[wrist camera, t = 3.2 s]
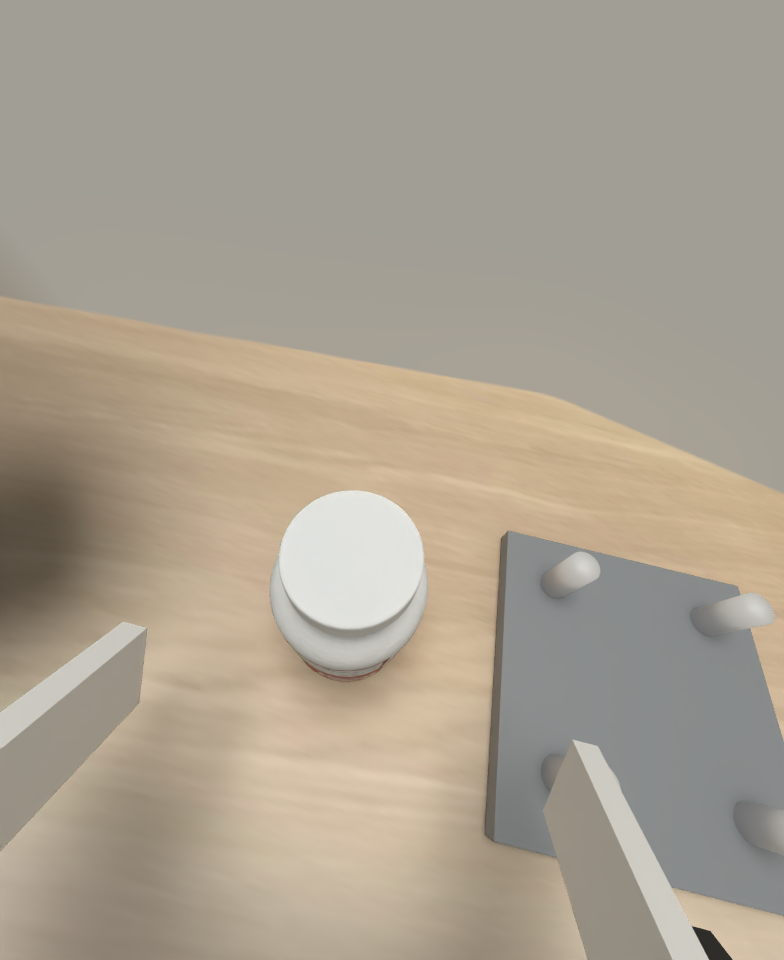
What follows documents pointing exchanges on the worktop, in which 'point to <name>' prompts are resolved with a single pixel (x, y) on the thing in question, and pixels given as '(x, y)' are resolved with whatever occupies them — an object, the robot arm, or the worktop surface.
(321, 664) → the pill bottle
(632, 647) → the peg board
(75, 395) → the worktop surface
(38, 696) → the robot arm
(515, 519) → the worktop surface
